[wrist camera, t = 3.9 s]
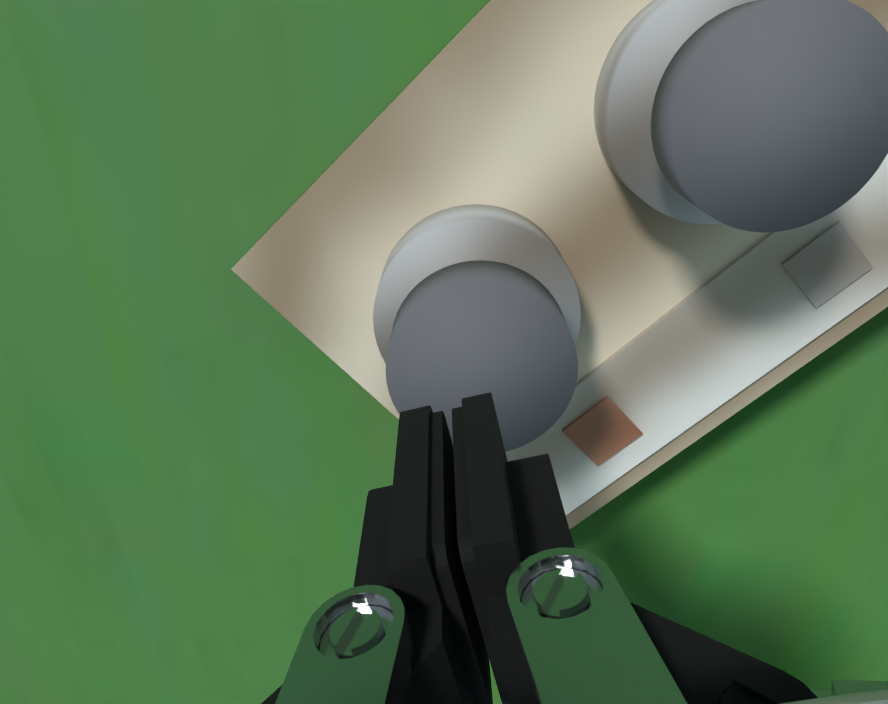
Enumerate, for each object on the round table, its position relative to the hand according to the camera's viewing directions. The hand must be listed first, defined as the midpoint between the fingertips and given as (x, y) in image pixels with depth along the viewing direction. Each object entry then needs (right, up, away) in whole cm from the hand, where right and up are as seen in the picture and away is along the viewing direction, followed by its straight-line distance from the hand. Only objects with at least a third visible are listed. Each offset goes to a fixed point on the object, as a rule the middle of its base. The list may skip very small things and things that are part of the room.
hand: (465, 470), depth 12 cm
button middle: (+6, +7, +2) cm, 10 cm away
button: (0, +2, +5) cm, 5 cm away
